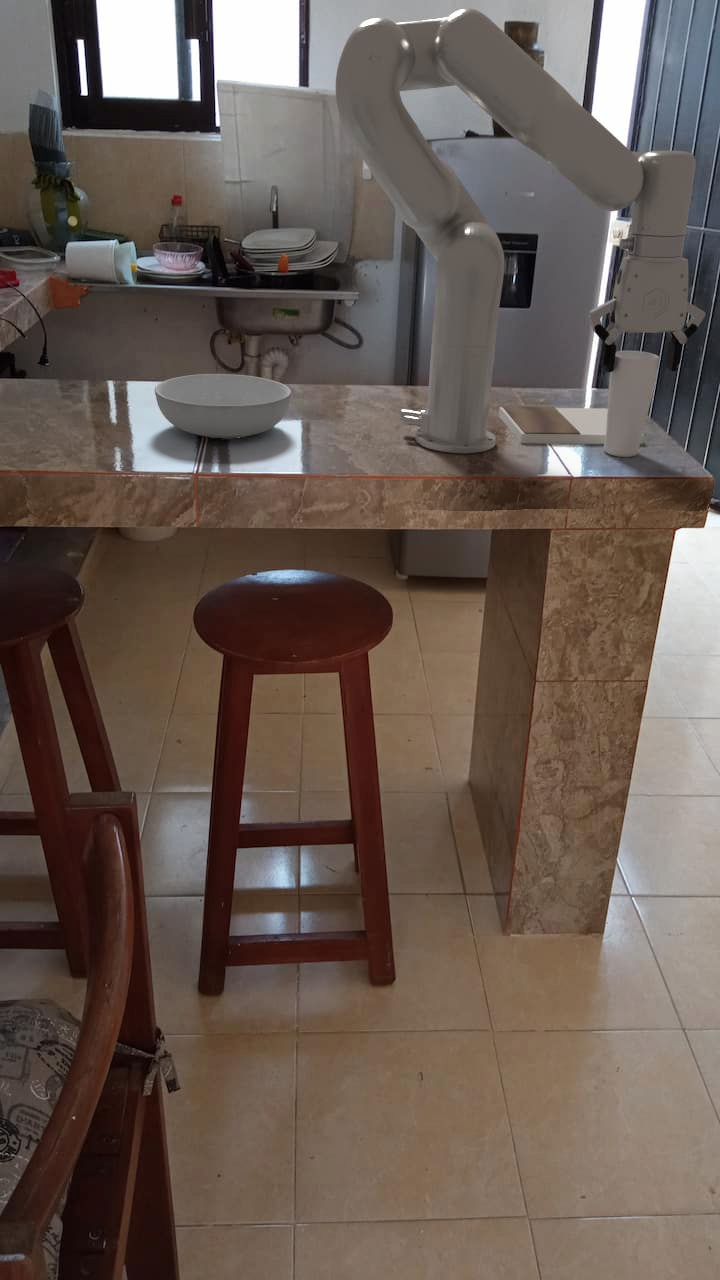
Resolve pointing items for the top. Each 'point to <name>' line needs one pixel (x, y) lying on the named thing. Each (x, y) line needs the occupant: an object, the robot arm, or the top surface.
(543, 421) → the brown rectangular panel
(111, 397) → the top surface
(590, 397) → the top surface
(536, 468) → the top surface
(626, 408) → the drinking glass
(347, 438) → the top surface
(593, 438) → the board
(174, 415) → the serving bowl
